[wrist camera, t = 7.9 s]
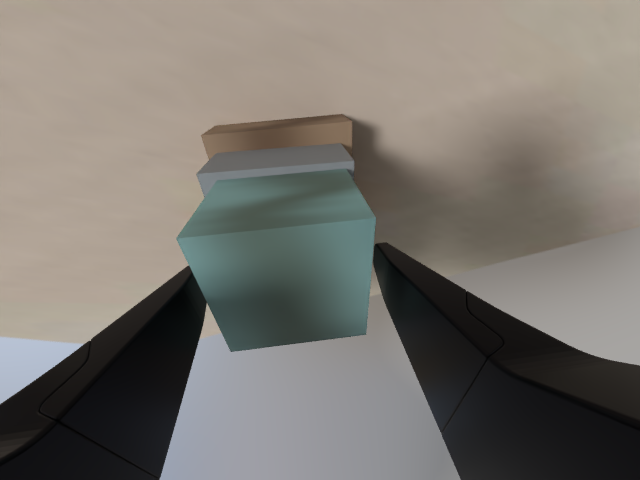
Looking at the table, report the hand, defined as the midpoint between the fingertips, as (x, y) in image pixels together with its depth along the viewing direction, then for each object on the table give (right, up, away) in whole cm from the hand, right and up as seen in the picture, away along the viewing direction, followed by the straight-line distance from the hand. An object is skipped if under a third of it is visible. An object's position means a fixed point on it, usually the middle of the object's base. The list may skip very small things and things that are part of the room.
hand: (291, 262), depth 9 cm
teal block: (0, +1, +2) cm, 2 cm away
